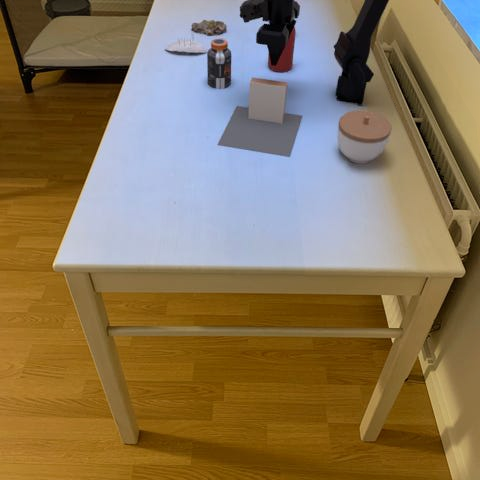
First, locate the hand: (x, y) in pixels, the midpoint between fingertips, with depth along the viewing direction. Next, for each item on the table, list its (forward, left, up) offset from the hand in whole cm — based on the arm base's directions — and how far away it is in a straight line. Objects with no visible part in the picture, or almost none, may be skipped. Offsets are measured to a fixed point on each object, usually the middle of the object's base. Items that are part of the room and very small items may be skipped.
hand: (276, 59), depth 116 cm
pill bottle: (+15, -5, -11) cm, 19 cm away
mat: (0, +13, -11) cm, 17 cm away
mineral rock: (+27, -36, -12) cm, 47 cm away
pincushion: (+29, -21, -12) cm, 38 cm away
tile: (0, +8, -10) cm, 13 cm away
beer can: (+2, -19, -11) cm, 22 cm away
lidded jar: (-22, +16, -11) cm, 29 cm away
